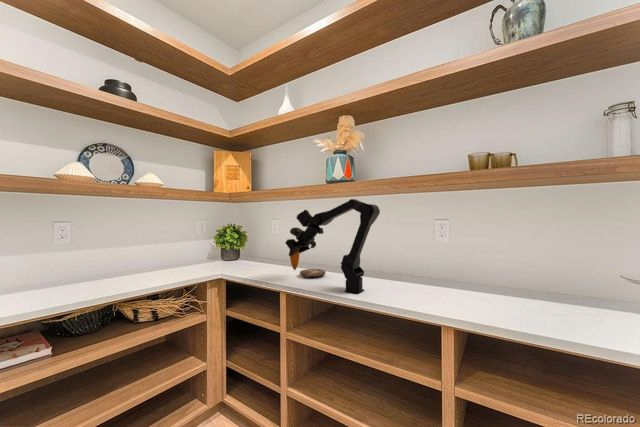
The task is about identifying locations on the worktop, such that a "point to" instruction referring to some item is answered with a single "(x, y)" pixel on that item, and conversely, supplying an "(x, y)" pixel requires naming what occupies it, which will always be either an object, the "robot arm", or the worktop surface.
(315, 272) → the walnut base
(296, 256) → the carrot
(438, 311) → the worktop surface
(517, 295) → the worktop surface
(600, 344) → the worktop surface
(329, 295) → the worktop surface
